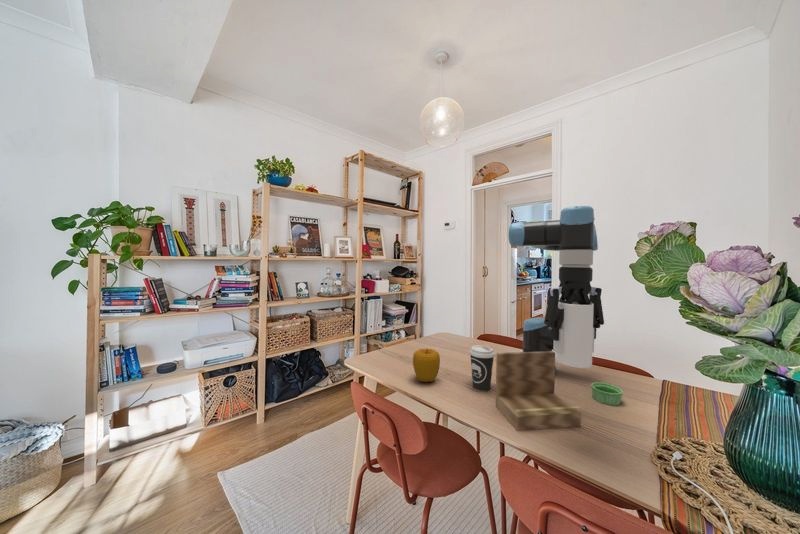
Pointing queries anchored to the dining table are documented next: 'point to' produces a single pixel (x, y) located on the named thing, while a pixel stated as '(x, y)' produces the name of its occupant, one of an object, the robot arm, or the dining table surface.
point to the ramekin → (606, 393)
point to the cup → (577, 335)
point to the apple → (426, 364)
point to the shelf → (531, 392)
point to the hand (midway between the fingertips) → (573, 351)
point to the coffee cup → (481, 366)
